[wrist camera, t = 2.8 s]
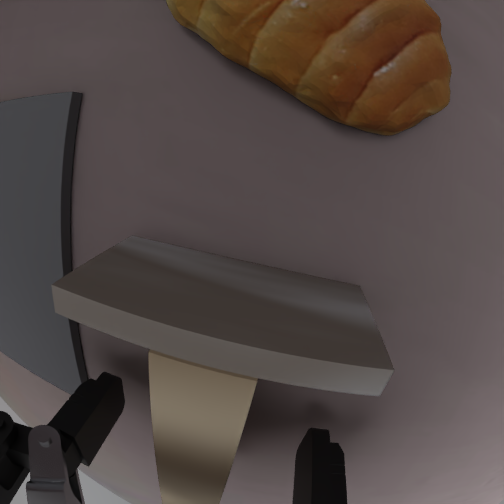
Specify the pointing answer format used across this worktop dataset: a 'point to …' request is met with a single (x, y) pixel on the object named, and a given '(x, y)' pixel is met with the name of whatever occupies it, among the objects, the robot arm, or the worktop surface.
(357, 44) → the pastry
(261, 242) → the worktop surface
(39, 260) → the mat
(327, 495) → the robot arm
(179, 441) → the scraper
